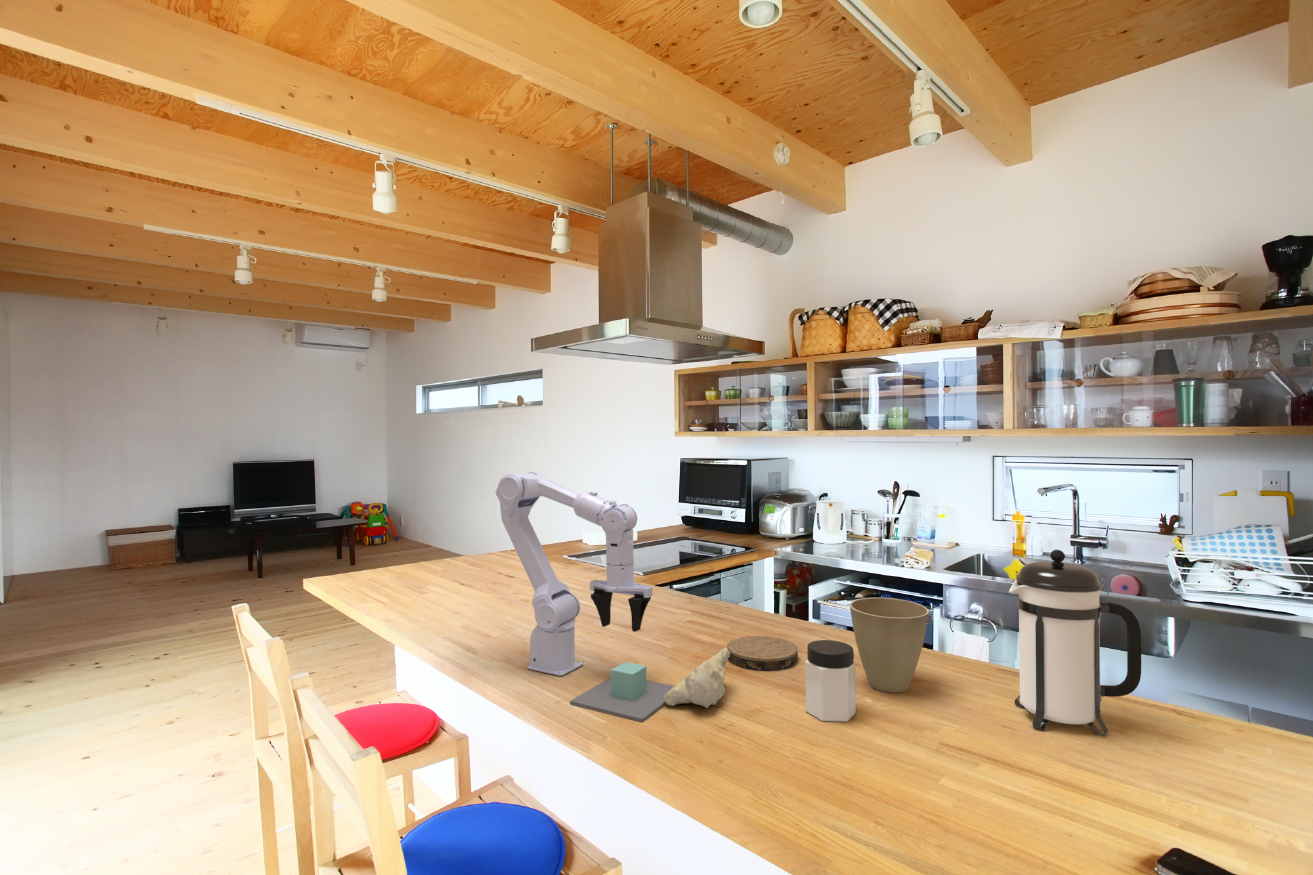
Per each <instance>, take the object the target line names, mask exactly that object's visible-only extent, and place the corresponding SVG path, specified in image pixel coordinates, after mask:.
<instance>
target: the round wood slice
mask: <svg viewBox="0 0 1313 875" xmlns="http://www.w3.org/2000/svg"><path fill="white" fill-rule="evenodd" d="M726 648H727V649H728V651H729V652H730V657H728V660H727V661H728V662H729V663H730V664H731V665H733V666H734V667H735V666H736V667H737V668H740V669H741V668H742V669H744V670H747V671H748V670H749V671H755V672H779V671H785V670H788V669H791V668H794V667H795V666H796V665H797V664H798V662H799V658H798V657H799V656H798V654H799V653H798V652H799V651H798V650H799V649H798V646H797V645H796V644H795V643H794V642H791V641H790V640H787V639H783V638H779V637H774V636H767V635H750V636H749V635H748V636H741V637H737V638H734V639H731V640H730V641H729V642H728V643H727V645H726Z"/></svg>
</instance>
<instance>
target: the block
mask: <svg viewBox="0 0 1313 875" xmlns="http://www.w3.org/2000/svg"><path fill="white" fill-rule="evenodd" d="M610 677H611V696H614V697H618V698H622V699H627V700H631V701H634V700H635V699H637V698H638V697H640V696H641V695H643V694H644V693H646V692H647V680H648V679H647V666H646V665H642V664H638V663H632V662H628V661H627V662H626V661H624V662H622V663H620V664H619V665H617V666H615V667H613V668H611V669H610Z"/></svg>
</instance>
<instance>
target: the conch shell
mask: <svg viewBox="0 0 1313 875" xmlns="http://www.w3.org/2000/svg"><path fill="white" fill-rule="evenodd" d="M728 657H730V652H729V651H728V649H727V647H724V648H721V650H719V651H718V652H717V653H716V654H715V655H713V656H711V657H710V658H708V659H705V660H704V661H703V662H701V663H700V664H699V665H697V667H695V668H694V669H693V670H692V671H691V672H690V673H689V674H688V675H686V676H685V677H684V678H683V679H682V680H681V681H680V682H678V683H677V684H676V685H674V686H675V687H673V688H672V689H671V690H670V691H668V692H667V693H666V694H665V696H664V700H665V702H666V703H667V704H666V705H668V706H672V707H674V706H676V705H684V704H694V705H698V706H700V707H701V706H702V707H704V708H705V709H709V707H710V706H711V705H712V706H716V705H717V704H718V701H719V700H720V699H721V698H722V697H723V695H724V694H726V688H725V686H724V685H725V684H724V683H725V675H726V673H727V672H726V669H725V666H726V663H727V661H728Z"/></svg>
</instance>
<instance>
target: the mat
mask: <svg viewBox="0 0 1313 875" xmlns="http://www.w3.org/2000/svg"><path fill="white" fill-rule="evenodd" d="M646 680H647V692H646V693H644V694H643V695H641V696H640V697H638V698H637V699H635V700H634V701H631V700H627V699H622V698H618V697H614V696H611V676H610V677H608V678H607V679H605V680H603V681H602V682H600V683H598V684H597V685H595V686H593V687H591V688H589V689H588V690H586V691H584V692H583V693H581V694H579V695H578V696H576V697H574V698H572V699H571V700H570V701H569V704H570V705H572V706H576V707H580V708H584V709H588V710H591V711H597V712H599V713H603V714H609V715H613V716H616V717H619V718H624V719H628V720H632V721H635V722H639V723H643V722H645V721H646V720H647V719H649V718H650V717H651V716H653V715H654V714H655V713H657V712H658V711H659V710H661V709H662V708H663V707H664V706H666V705H668V704H667V703H666V702H665V700H664V696H665V694H666V693H667V692H668V691H670V690H671V689H672V688H673V687H675V686H676V685H673V684H669V683H662V682H658V681H653V680H650V679H649V680H648V679H646Z"/></svg>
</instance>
